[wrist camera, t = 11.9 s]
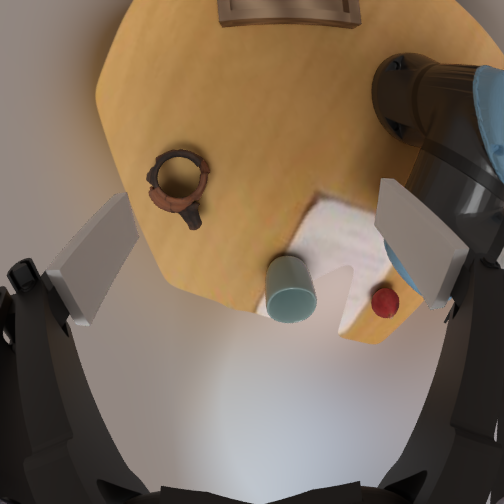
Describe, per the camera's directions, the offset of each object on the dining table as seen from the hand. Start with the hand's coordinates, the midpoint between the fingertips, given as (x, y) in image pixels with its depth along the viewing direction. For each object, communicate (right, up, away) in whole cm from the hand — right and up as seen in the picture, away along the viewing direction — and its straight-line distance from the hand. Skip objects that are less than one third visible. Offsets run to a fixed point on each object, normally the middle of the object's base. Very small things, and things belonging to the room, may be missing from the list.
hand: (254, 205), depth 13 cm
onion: (+26, -10, +39) cm, 49 cm away
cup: (+6, -5, +36) cm, 37 cm away
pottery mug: (-10, +8, +27) cm, 30 cm away
